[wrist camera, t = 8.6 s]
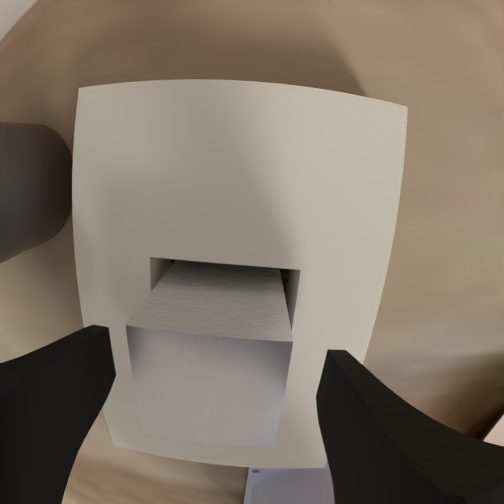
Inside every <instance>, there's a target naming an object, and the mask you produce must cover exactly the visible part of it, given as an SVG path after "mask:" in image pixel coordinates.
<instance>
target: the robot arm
mask: <svg viewBox="0 0 504 504" xmlns="http://www.w3.org/2000/svg"><path fill="white" fill-rule="evenodd" d="M115 377H116V370H115V365H114V359H113V353H112V347H111V340H110V333H109V327H104V326H99V325H94V324H93V325H90V326H88V327H85V328H83V329H81V330H78V331H76V332H74V333H72V334H70V335H68V336H66V337H64V338H61V339H59V340H57V341H55V342H53V343H51V344H49V345H47V346H44V347H42V348H40V349H37V350H35V351H33V352H30V353H28V354H26V355H23V356H21V357H18V358H15V359H13V360H10V361H6V362H3V363H0V504H61V503H62V499H63V495H64V491H65V488H66V485H67V481H68V478H69V475H70V472H71V469H72V467H73V464H74V461H75V458H76V456H77V453H78V451H79V449H80V447H81V445H82V443H83V441H84V439H85V437H86V435H87V434H88V432H89V430H90V428H91V426H92V425H93V423H94V421H95V419H96V418H97V416H98V414H99V412H100V411H101V409H102V407H103V405H104V403H105V402H106V400H107V398H108V395H109V393H110V391H111V388H112V385H113V383H114V380H115ZM316 405H317V415H318V423H319V427H320V431H321V435H322V440H323V444H324V448H325V452H326V456H327V462H326V464H325V467H324V468H253V467H249V470H248V477H247V484H246V490H245V497H244V503H243V504H504V447H503V446H499V445H495V444H491V443H488V442H485V441H482V440H479V439H476V438H473V437H470V436H468V435H465V434H463V433H460V432H458V431H456V430H454V429H452V428H449V427H447V426H445V425H443V424H441V423H439V422H438V421H436V420H434V419H432V418H430V417H429V416H427V415H426V414H424V413H422V412H421V411H419V410H417V409H416V408H414V407H413V406H411V405H410V404H409V403H407V402H406V401H405V400H403V399H402V398H401V397H399V396H398V395H397V394H395V393H394V392H393V391H392V390H390V389H389V388H388V387H387V386H386V385H384V384H383V383H382V382H381V381H380V380H379V379H377V378H376V377H375V376H374V375H373V374H372V373H371V372H370V371H369V370H367V369H366V368H365V367H364V366H363V365H362V364H361V363H360V362H359V361H358V360H357V359H356V358H354V357H353V356H352V355H351V354H350V353H349V352H348V351H346V350H331V349H327V354H326V358H325V362H324V366H323V370H322V374H321V378H320V382H319V386H318V390H317V394H316Z"/></svg>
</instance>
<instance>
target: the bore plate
mask: <svg viewBox="0 0 504 504" xmlns="http://www.w3.org/2000/svg"><path fill="white" fill-rule="evenodd" d="M406 128H407V107H406V106H402V105H398V104H394V103H390V102H386V101H382V100H377V99H373V98H368V97H364V96H359V95H354V94H348V93H343V92H337V91H331V90H325V89H319V88H312V87H304V86H296V85H288V84H278V83H268V82H255V81H239V80H211V79H179V80H152V81H136V82H124V83H114V84H105V85H96V86H89V87H82V88H79V92H78V100H77V109H76V118H75V130H74V145H73V167H72V213H73V236H74V251H75V263H76V274H77V283H78V291H79V299H80V306H81V312H82V319H83V325H84V328H85V327H88V326H90V325H93V324H94V325H99V326H104V327H109V333H110V340H111V347H112V353H113V359H114V365H115V370H116V377H115V380H114V383H113V385H112V388H111V391H110V393H109V395H108V398H107V400H106V402H105V403H104V405H103V407H102V409H103V412H104V416H105V419H106V422H107V426H108V429H109V432H110V435H111V438H112V441H113V444H114V446H117V447H121V448H125V449H129V450H134V451H138V452H142V453H147V454H152V455H157V456H162V457H167V458H173V459H179V460H185V461H192V462H199V463H207V464H216V465H226V466H238V467H253V468H324V467H325V464H326V462H327V456H326V452H325V448H324V444H323V440H322V435H321V431H320V427H319V423H318V415H317V405H316V394H317V390H318V386H319V382H320V378H321V374H322V370H323V366H324V362H325V358H326V354H327V349H331V350H346V351H348V352H349V353H350V354H351V355H352V356H353V357H354V358H356V359H357V360H358V361H359V362H360V363H361V364H362V365H363V362H364V359H365V356H366V352H367V349H368V346H369V342H370V339H371V335H372V331H373V328H374V324H375V320H376V316H377V312H378V308H379V304H380V300H381V296H382V292H383V287H384V283H385V278H386V274H387V269H388V264H389V259H390V254H391V249H392V243H393V238H394V232H395V226H396V219H397V213H398V206H399V199H400V191H401V183H402V175H403V165H404V154H405V142H406ZM171 259H177V260H189V261H200V262H211V263H223V264H235V265H246V266H259V267H271V268H283V269H289V277H288V284H287V292H286V305H287V310H288V315H289V321H290V326H291V332H292V337H293V347H292V353H291V359H290V365H289V371H288V376H287V382H286V388H285V393H284V399H283V404H282V409H281V415H280V420H279V425H278V430H277V435H276V440H275V445H274V448H261V447H243V446H230V445H219V444H209V443H201V442H193V441H186V440H179V439H173V438H167V437H161V436H156V435H151V434H146V433H144V431H143V427H142V422H141V418H140V413H139V408H138V403H137V398H136V393H135V387H134V381H133V375H132V369H131V363H130V356H129V349H128V342H127V334H126V326H125V325H126V324H127V322H128V321H129V320H130V318H131V317H132V316H133V314H134V313H135V312H136V310H137V309H138V308H139V306H140V305H141V304H142V303H143V301H144V300H145V299H146V297H147V296H148V295H149V293H150V292H151V291H152V290H153V288H154V287H155V286H156V284H157V283H158V282H159V281H160V279H161V278H162V277H163V276H164V274H165V273H166V272H167V270H168V269H169V268H170V267H171Z"/></svg>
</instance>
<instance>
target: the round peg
mask: <svg viewBox="0 0 504 504" xmlns="http://www.w3.org/2000/svg"><path fill="white" fill-rule="evenodd" d="M72 167H73V160H72V157H71V154H70V151H69V149H68V147H67V145H66V143H65V142H64V140H63V139H62V138H61V137H60V135H59V134H58V133H56V132H55V131H54V130H53V129H51V128H49V127H47V126H44V125H37V124H24V123H9V122H0V263H2V262H4V261H6V260H8V259H10V258H12V257H14V256H16V255H18V254H20V253H22V252H24V251H26V250H28V249H30V248H32V247H35V246H37V245H39V244H41V243H43V242H45V241H47V240H49V239H51V238H53V237H54V236H55V235H56V234H57V233H58V232H59V231H60V230H61V229H62V228H63V226H64V225H65V223H66V221H67V219H68V217H69V215H70V212H71V209H72Z"/></svg>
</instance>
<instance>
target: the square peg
mask: <svg viewBox="0 0 504 504" xmlns="http://www.w3.org/2000/svg"><path fill="white" fill-rule="evenodd" d="M125 326H126V334H127V342H128V349H129V356H130V363H131V369H132V375H133V381H134V387H135V393H136V398H137V403H138V408H139V413H140V418H141V422H142V427H143V431H144V433H146V434H151V435H156V436H161V437H167V438H173V439H179V440H186V441H193V442H201V443H209V444H219V445H230V446H243V447H261V448H274V445H275V440H276V435H277V430H278V425H279V420H280V415H281V409H282V404H283V399H284V393H285V388H286V382H287V376H288V371H289V365H290V359H291V353H292V347H293V337H292V332H291V326H290V321H289V315H288V310H287V305H286V299H285V294H284V289H283V284H282V278H281V273H280V268H271V267H259V266H246V265H235V264H223V263H211V262H200V261H189V260H177V259H176V260H175V262H174V263H173V264H172V265H171V267H170V268H169V269H168V270H167V272H166V273H165V274H164V276H163V277H162V278H161V279H160V281H159V282H158V283H157V284H156V286H155V287H154V288H153V290H152V291H151V292H150V293H149V295H148V296H147V297H146V299H145V300H144V301H143V303H142V304H141V305H140V306H139V308H138V309H137V310H136V312H135V313H134V314H133V316H132V317H131V318H130V320H129V321H128V322H127V324H126V325H125Z"/></svg>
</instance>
